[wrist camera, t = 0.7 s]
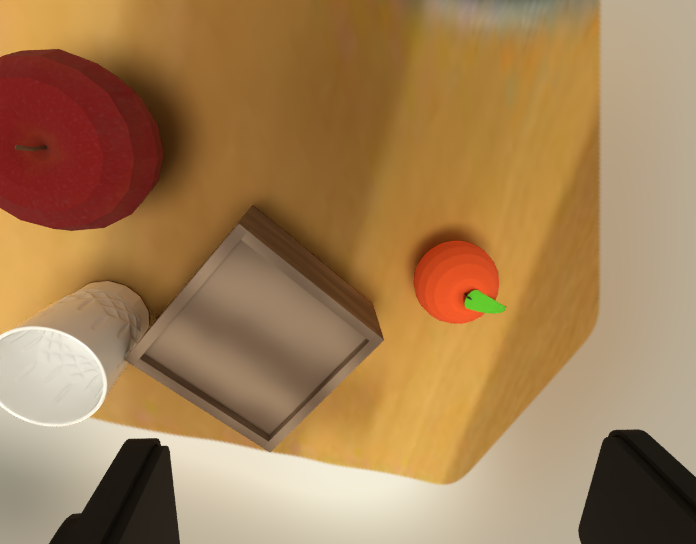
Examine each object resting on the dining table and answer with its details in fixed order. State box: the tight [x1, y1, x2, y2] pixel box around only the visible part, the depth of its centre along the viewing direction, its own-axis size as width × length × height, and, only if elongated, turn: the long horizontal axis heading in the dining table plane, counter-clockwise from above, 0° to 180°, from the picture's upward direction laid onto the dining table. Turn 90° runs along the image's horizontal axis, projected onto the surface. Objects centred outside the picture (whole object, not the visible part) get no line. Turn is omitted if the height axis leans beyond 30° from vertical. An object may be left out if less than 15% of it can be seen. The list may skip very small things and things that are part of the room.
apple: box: [0, 49, 164, 231], centre depth 28 cm, size 11×11×12 cm
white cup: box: [0, 281, 149, 427], centre depth 33 cm, size 8×8×10 cm
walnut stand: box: [124, 206, 384, 452], centre depth 36 cm, size 14×14×7 cm
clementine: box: [414, 241, 506, 323], centre depth 35 cm, size 8×7×7 cm
